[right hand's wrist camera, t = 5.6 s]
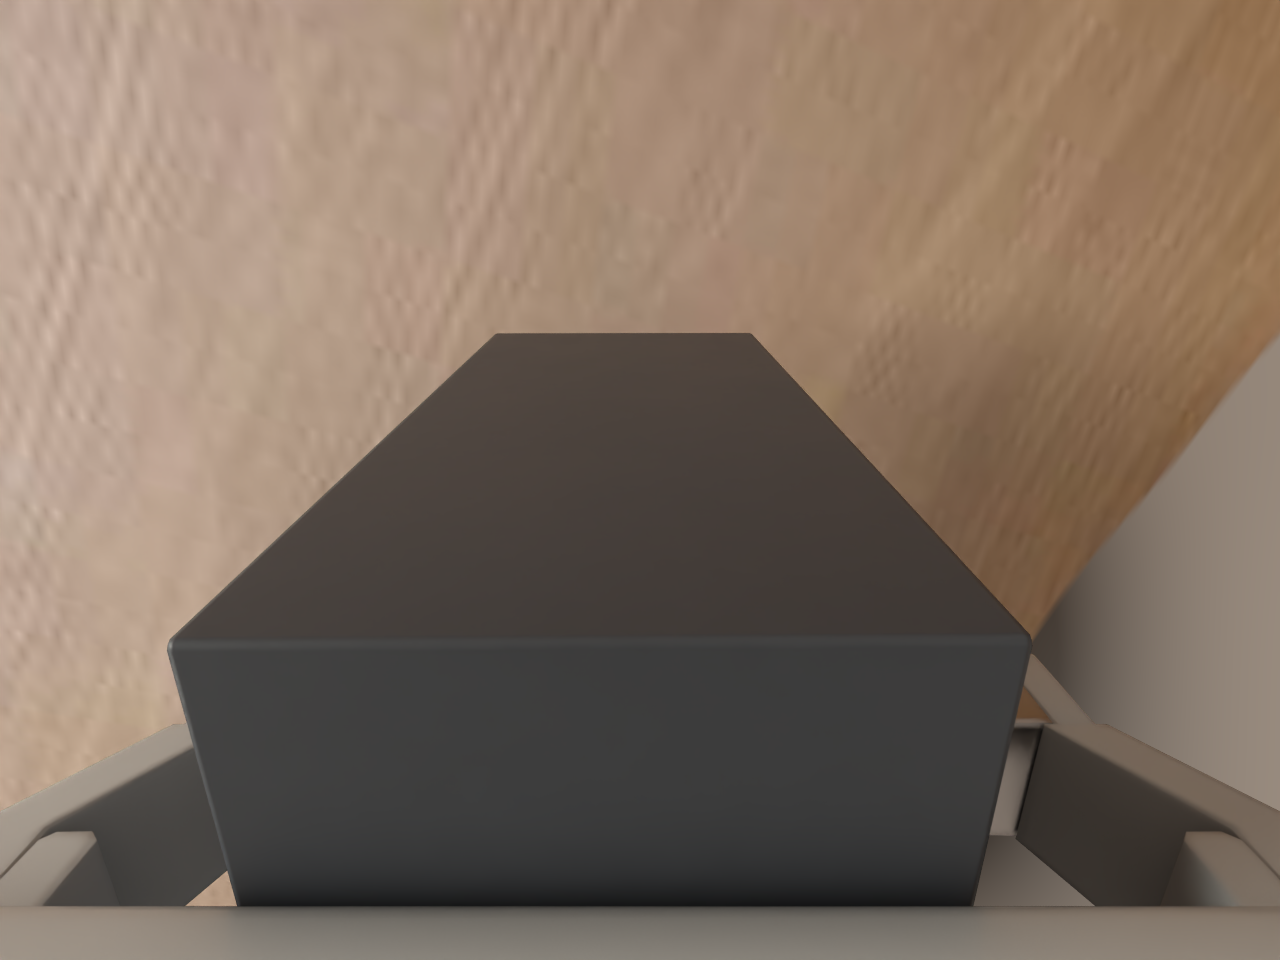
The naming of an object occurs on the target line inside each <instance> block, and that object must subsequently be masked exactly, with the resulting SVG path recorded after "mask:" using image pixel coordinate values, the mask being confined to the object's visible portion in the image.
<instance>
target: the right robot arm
mask: <svg viewBox="0 0 1280 960" xmlns="http://www.w3.org/2000/svg"><path fill="white" fill-rule="evenodd" d="M990 835H1008V836H1016V839H1017V840H1018V841H1019V842H1020V843H1021V844H1022V845H1024V846H1025V847H1026V848H1027V849H1028V850H1030V851H1031V852H1032V853H1033V854H1034V855H1036V856H1037V857H1038V858H1039V859H1040V860H1041V861H1043V862H1044V863H1045V864H1046V865H1047V866H1049V867H1050V868H1051V869H1052V870H1053V871H1055V872H1056V873H1057V874H1058V875H1059V876H1060V877H1062V878H1063V879H1064V880H1065V881H1066V882H1068V883H1069V884H1070V885H1071V886H1072V887H1073V888H1075V889H1076V890H1077V891H1078V892H1079V893H1081V894H1082V895H1083V896H1084V897H1085V898H1086V899H1088V900H1089V901H1090V902H1091V903H1092V904H1094V905H1095V906H768V907H726V906H185V905H187V904H188V903H189V902H190V901H191V900H193V899H194V898H195V897H196V896H197V895H198V894H200V893H201V892H202V891H203V890H204V889H206V888H207V887H208V886H209V885H210V884H212V883H213V882H214V881H215V880H216V879H217V878H219V877H220V876H221V875H222V874H223V873H225V872H226V871H227V867H226V863H225V860H224V856H223V852H222V849H221V845H220V842H219V838H218V834H217V831H216V827H215V823H214V820H213V816H212V812H211V809H210V805H209V802H208V798H207V794H206V791H205V787H204V783H203V780H202V776H201V772H200V769H199V765H198V762H197V758H196V754H195V751H194V747H193V743H192V740H191V736H190V732H189V729H188V725H187V722H186V723H185V724H173V725H171V726H169V727H167V728H165V729H163V730H161V731H159V732H157V733H155V734H153V735H151V736H149V737H147V738H145V739H143V740H141V741H139V742H137V743H135V744H133V745H131V746H129V747H127V748H125V749H123V750H121V751H119V752H117V753H115V754H113V755H111V756H109V757H107V758H105V759H103V760H101V761H99V762H97V763H95V764H93V765H91V766H89V767H87V768H85V769H83V770H81V771H79V772H77V773H75V774H73V775H71V776H69V777H67V778H65V779H63V780H61V781H59V782H57V783H55V784H53V785H51V786H49V787H47V788H45V789H43V790H41V791H40V792H38V793H36V794H34V795H32V796H30V797H28V798H26V799H24V800H22V801H20V802H18V803H16V804H14V805H12V806H10V807H8V808H6V809H4V810H2V811H0V960H1280V811H1278V810H1276V809H1274V808H1272V807H1270V806H1268V805H1266V804H1264V803H1262V802H1260V801H1258V800H1256V799H1254V798H1252V797H1250V796H1248V795H1246V794H1244V793H1242V792H1240V791H1238V790H1236V789H1234V788H1232V787H1230V786H1228V785H1226V784H1224V783H1222V782H1220V781H1218V780H1216V779H1214V778H1212V777H1210V776H1208V775H1206V774H1204V773H1202V772H1200V771H1198V770H1196V769H1194V768H1192V767H1191V766H1189V765H1187V764H1184V763H1183V762H1181V761H1179V760H1177V759H1175V758H1173V757H1171V756H1169V755H1167V754H1165V753H1163V752H1161V751H1159V750H1157V749H1155V748H1153V747H1151V746H1149V745H1147V744H1145V743H1143V742H1141V741H1139V740H1137V739H1135V738H1133V737H1131V736H1129V735H1127V734H1125V733H1123V732H1121V731H1119V730H1117V729H1115V728H1113V727H1111V726H1109V725H1107V724H1095V723H1094V722H1093V721H1092V720H1091V719H1090V718H1089V717H1088V715H1087V714H1086V713H1085V712H1084V711H1083V710H1082V709H1081V707H1080V706H1079V705H1078V704H1077V703H1076V702H1075V701H1074V700H1073V698H1072V697H1071V696H1070V695H1069V694H1068V693H1067V692H1066V690H1065V689H1064V688H1063V687H1062V686H1061V685H1060V684H1059V683H1058V681H1057V680H1056V679H1055V678H1054V677H1053V676H1052V675H1051V673H1050V672H1049V671H1048V670H1047V669H1046V668H1045V667H1044V666H1043V664H1042V663H1041V662H1040V661H1039V660H1038V659H1037V658H1036V656H1034V655H1033V654H1030V659H1029V663H1028V668H1027V672H1026V676H1025V681H1024V685H1023V690H1022V694H1021V698H1020V703H1019V707H1018V712H1017V716H1016V720H1015V725H1014V729H1013V734H1012V738H1011V742H1010V747H1009V751H1008V756H1007V760H1006V764H1005V769H1004V773H1003V777H1002V782H1001V786H1000V791H999V795H998V799H997V804H996V808H995V813H994V817H993V821H992V826H991V830H990Z"/></svg>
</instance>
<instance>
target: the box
mask: <svg viewBox="0 0 1280 960" xmlns="http://www.w3.org/2000/svg"><path fill="white" fill-rule="evenodd" d="M1031 650H1032V640H1031V637H1030V634H1029V633H1028V632H1027V631H1026V630H1025V629H1024V628H1023V627H1022V626H1021V625H1020V624H1019V622H1018V621H1017V620H1016V619H1015V618H1014V617H1013V616H1012V615H1011V614H1010V613H1009V612H1008V611H1007V610H1006V608H1005V607H1004V606H1003V605H1002V604H1001V603H1000V602H999V601H998V600H997V599H996V598H995V597H994V595H993V594H992V593H991V592H990V591H989V590H988V589H987V588H986V587H985V586H984V585H983V584H982V582H981V581H980V580H979V579H978V578H977V577H976V576H975V575H974V574H973V573H972V572H971V571H970V570H969V568H968V567H967V566H966V565H965V564H964V563H963V562H962V561H961V560H960V559H959V558H958V557H957V555H956V554H955V553H954V552H953V551H952V550H951V549H950V548H949V547H948V546H947V545H946V544H945V542H944V541H943V540H942V539H941V538H940V537H939V536H938V535H937V534H936V533H935V532H934V531H933V530H932V528H931V527H930V526H929V525H928V524H927V523H926V522H925V521H924V520H923V519H922V518H921V517H920V515H919V514H918V513H917V512H916V511H915V510H914V509H913V508H912V507H911V506H910V505H909V504H908V502H907V501H906V500H905V499H904V498H903V497H902V496H901V495H900V494H899V493H898V492H897V491H896V490H895V488H894V487H893V486H892V485H891V484H890V483H889V482H888V481H887V480H886V479H885V478H884V477H883V475H882V474H881V473H880V472H879V471H878V470H877V469H876V468H875V467H874V466H873V465H872V464H871V462H870V461H869V460H868V459H867V458H866V457H865V456H864V455H863V454H862V453H861V452H860V451H859V450H858V448H857V447H856V446H855V445H854V444H853V443H852V442H851V441H850V440H849V439H848V438H847V437H846V435H845V434H844V433H843V432H842V431H841V430H840V429H839V428H838V427H837V426H836V425H835V424H834V422H833V421H832V420H831V419H830V418H829V417H828V416H827V415H826V414H825V413H824V412H823V411H822V410H821V408H820V407H819V406H818V405H817V404H816V403H815V402H814V401H813V400H812V399H811V398H810V397H809V395H808V394H807V393H806V392H805V391H804V390H803V389H802V388H801V387H800V386H799V385H798V384H797V382H796V381H795V380H794V379H793V378H792V377H791V376H790V375H789V374H788V373H787V372H786V371H785V370H784V368H783V367H782V366H781V365H780V364H779V363H778V362H777V361H776V360H775V359H774V358H773V357H772V355H771V354H770V353H769V352H768V351H767V350H766V349H765V348H764V347H763V346H762V345H761V344H760V343H759V341H758V340H757V339H756V338H755V337H754V336H753V335H752V334H750V333H512V334H495V335H494V336H493V337H492V338H491V339H490V340H489V341H488V342H487V343H485V344H484V345H483V346H482V347H481V348H480V349H479V350H478V351H477V352H476V353H475V354H474V355H473V356H472V357H471V358H469V359H468V360H467V361H466V362H465V363H464V364H463V365H462V366H461V367H460V368H459V369H458V370H457V371H456V372H455V373H453V374H452V375H451V376H450V377H449V378H448V379H447V380H446V381H445V382H444V383H443V384H442V385H441V386H440V387H439V388H437V389H436V390H435V391H434V392H433V393H432V394H431V395H430V396H429V397H428V398H427V399H426V400H425V401H424V402H423V403H421V404H420V405H419V406H418V407H417V408H416V409H415V410H414V411H413V412H412V413H411V414H410V415H409V416H408V417H407V418H405V419H404V420H403V421H402V422H401V423H400V424H399V425H398V426H397V427H396V428H395V429H394V430H393V431H392V432H391V433H389V434H388V435H387V436H386V437H385V438H384V439H383V440H382V441H381V442H380V443H379V444H378V445H377V446H376V447H375V448H373V449H372V450H371V451H370V452H369V453H368V454H367V455H366V456H365V457H364V458H363V459H362V460H361V461H360V462H359V463H357V464H356V465H355V466H354V467H353V468H352V469H351V470H350V471H349V472H348V473H347V474H346V475H345V476H344V477H343V478H341V479H340V480H339V481H338V482H337V483H336V484H335V485H334V486H333V487H332V488H331V489H330V490H329V491H328V492H327V493H325V494H324V495H323V496H322V497H321V498H320V499H319V500H318V501H317V502H316V503H315V504H314V505H313V506H312V507H311V508H309V509H308V510H307V511H306V512H305V513H304V514H303V515H302V516H301V517H300V518H299V519H298V520H297V521H296V522H295V523H293V524H292V525H291V526H290V527H289V528H288V529H287V530H286V531H285V532H284V533H283V534H282V535H281V536H280V537H279V538H277V539H276V540H275V541H274V542H273V543H272V544H271V545H270V546H269V547H268V548H267V549H266V550H265V551H264V552H263V553H261V554H260V555H259V556H258V557H257V558H256V559H255V560H254V561H253V562H252V563H251V564H250V565H249V566H248V567H247V568H245V569H244V570H243V571H242V572H241V573H240V574H239V575H238V576H237V577H236V578H235V579H234V580H233V581H232V582H231V583H229V584H228V585H227V586H226V587H225V588H224V589H223V590H222V591H221V592H220V593H219V594H218V595H217V596H216V597H215V598H213V599H212V600H211V601H210V602H209V603H208V604H207V605H206V606H205V607H204V608H203V609H202V610H201V611H200V612H199V613H197V614H196V615H195V616H194V617H193V618H192V619H191V620H190V621H189V622H188V623H187V624H186V625H185V626H184V627H182V628H181V629H180V630H179V631H178V632H177V633H176V634H175V635H174V636H173V637H172V638H171V639H170V641H169V643H168V648H167V652H168V656H169V660H170V663H171V667H172V671H173V674H174V678H175V681H176V685H177V689H178V692H179V696H180V700H181V703H182V707H183V711H184V714H185V718H186V722H187V725H188V729H189V732H190V736H191V740H192V743H193V747H194V751H195V754H196V758H197V762H198V765H199V769H200V772H201V776H202V780H203V783H204V787H205V791H206V794H207V798H208V802H209V805H210V809H211V812H212V816H213V820H214V823H215V827H216V831H217V834H218V838H219V842H220V845H221V849H222V852H223V856H224V860H225V863H226V867H227V871H228V874H229V878H230V882H231V885H232V889H233V892H234V896H235V900H236V903H237V906H726V907H768V906H973V905H974V900H975V896H976V892H977V887H978V883H979V878H980V874H981V870H982V865H983V861H984V856H985V852H986V848H987V843H988V839H989V835H990V830H991V826H992V821H993V817H994V813H995V808H996V804H997V799H998V795H999V791H1000V786H1001V782H1002V777H1003V773H1004V769H1005V764H1006V760H1007V756H1008V751H1009V747H1010V742H1011V738H1012V734H1013V729H1014V725H1015V720H1016V716H1017V712H1018V707H1019V703H1020V698H1021V694H1022V690H1023V685H1024V681H1025V676H1026V672H1027V668H1028V663H1029V659H1030V654H1031Z"/></svg>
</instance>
